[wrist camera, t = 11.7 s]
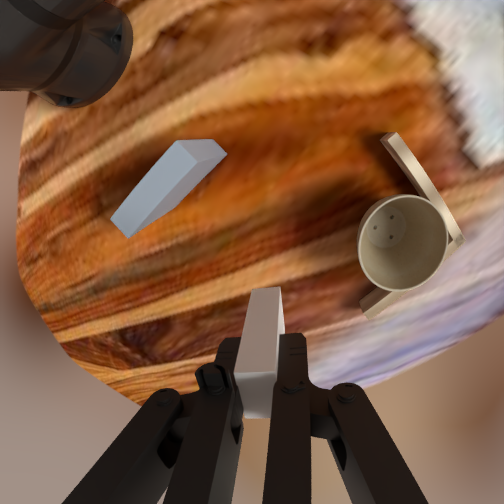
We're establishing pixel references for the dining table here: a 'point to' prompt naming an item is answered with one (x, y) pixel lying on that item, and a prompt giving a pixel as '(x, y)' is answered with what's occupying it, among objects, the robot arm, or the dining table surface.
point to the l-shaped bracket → (425, 189)
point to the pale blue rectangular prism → (167, 183)
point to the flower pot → (401, 242)
